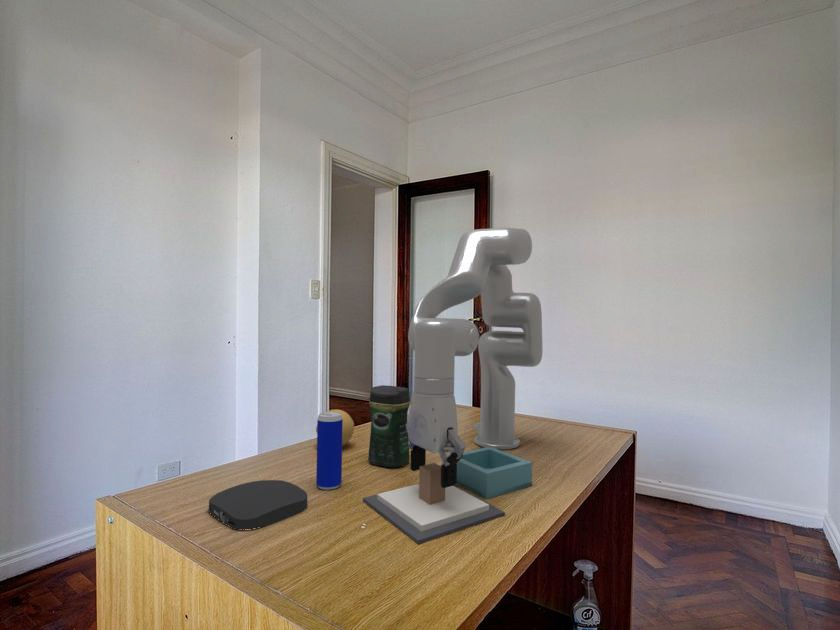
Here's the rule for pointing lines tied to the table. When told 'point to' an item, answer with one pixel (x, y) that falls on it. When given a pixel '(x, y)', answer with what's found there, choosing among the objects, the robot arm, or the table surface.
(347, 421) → the stress ball
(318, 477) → the beverage can
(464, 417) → the table surface
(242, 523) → the media streaming box
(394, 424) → the coffee jar
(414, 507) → the lid
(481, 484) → the square tray
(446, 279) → the robot arm
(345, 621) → the table surface
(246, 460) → the table surface
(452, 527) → the mat
